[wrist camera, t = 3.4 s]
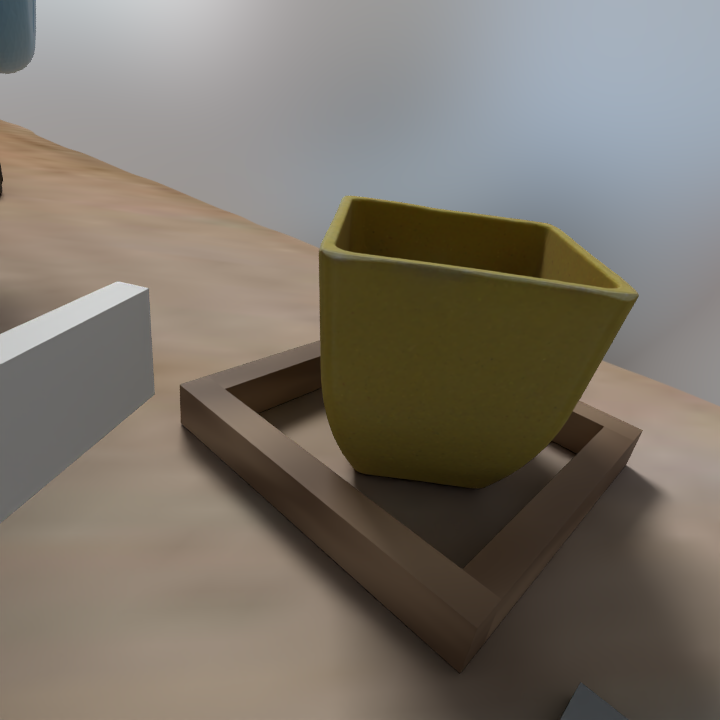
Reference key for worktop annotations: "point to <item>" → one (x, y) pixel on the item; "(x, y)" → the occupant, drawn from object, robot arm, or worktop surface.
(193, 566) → the worktop surface
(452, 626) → the square wooden frame
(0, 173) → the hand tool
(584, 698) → the mat
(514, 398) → the flower pot
